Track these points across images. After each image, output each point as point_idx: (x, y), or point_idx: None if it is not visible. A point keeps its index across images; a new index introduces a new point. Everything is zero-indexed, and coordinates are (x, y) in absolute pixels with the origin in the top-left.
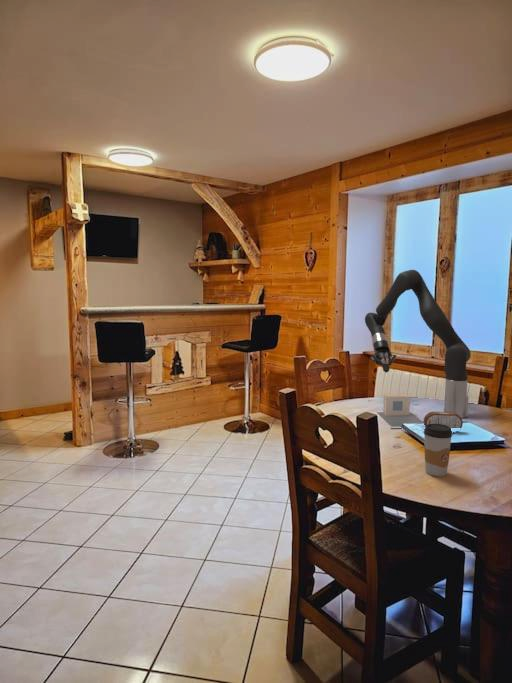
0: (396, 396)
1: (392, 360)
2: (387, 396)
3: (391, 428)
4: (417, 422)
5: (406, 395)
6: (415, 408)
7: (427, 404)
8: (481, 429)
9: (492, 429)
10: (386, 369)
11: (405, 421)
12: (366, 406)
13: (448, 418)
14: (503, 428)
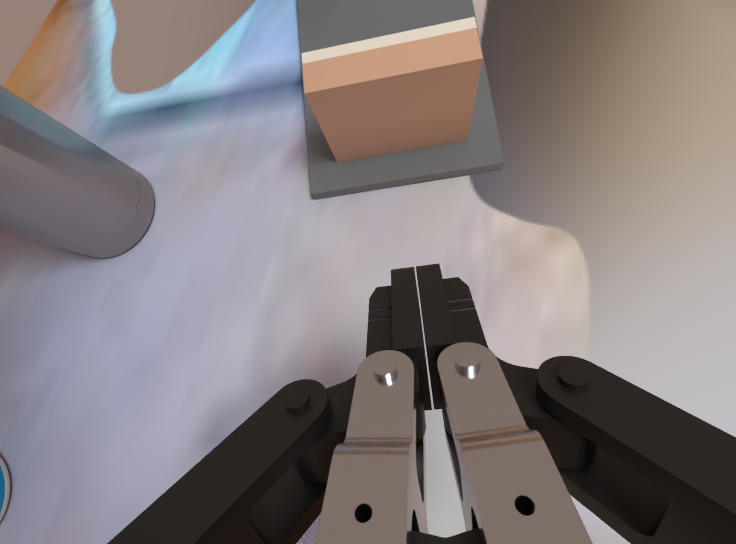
0: (396, 34)
1: (237, 444)
2: (462, 21)
3: None
4: (328, 26)
5: (320, 66)
6: (248, 335)
7: (147, 441)
8: (106, 36)
9: (69, 44)
10: (426, 268)
11: (379, 29)
12: (546, 358)
13: None
14: (25, 64)
